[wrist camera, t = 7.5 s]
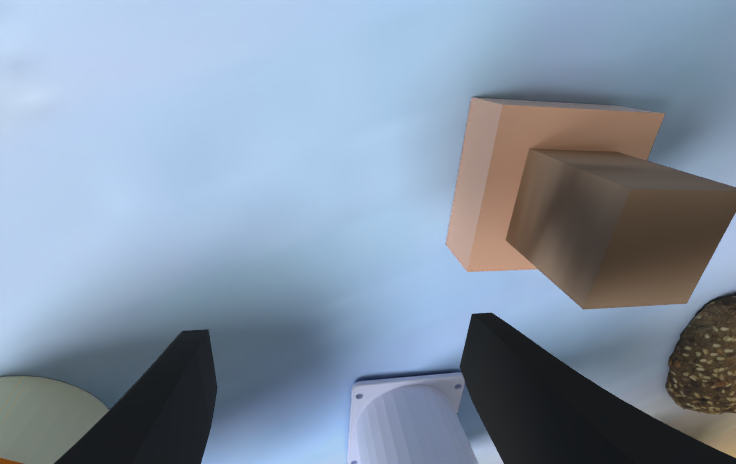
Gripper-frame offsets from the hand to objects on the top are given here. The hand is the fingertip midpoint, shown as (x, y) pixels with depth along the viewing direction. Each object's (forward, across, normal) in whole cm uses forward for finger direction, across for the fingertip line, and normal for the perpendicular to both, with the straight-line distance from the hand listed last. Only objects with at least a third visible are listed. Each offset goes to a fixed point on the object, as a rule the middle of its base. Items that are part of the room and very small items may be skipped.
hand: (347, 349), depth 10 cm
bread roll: (+10, -34, +12) cm, 37 cm away
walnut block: (+7, -11, -2) cm, 13 cm away
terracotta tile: (+10, -11, -2) cm, 15 cm away
